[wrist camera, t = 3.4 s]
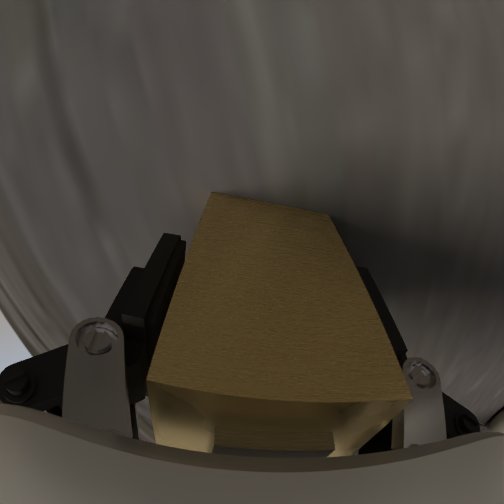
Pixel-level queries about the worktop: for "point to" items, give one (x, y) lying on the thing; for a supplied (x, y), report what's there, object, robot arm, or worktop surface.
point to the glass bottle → (497, 423)
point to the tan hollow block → (271, 341)
